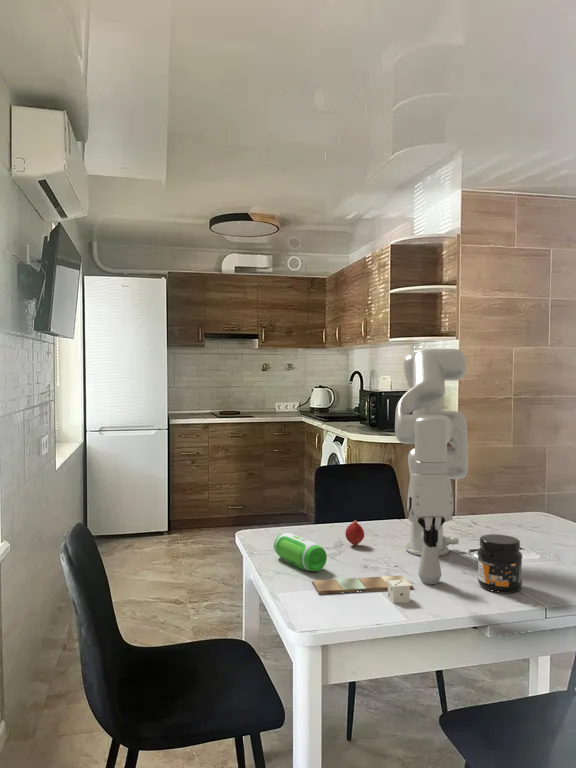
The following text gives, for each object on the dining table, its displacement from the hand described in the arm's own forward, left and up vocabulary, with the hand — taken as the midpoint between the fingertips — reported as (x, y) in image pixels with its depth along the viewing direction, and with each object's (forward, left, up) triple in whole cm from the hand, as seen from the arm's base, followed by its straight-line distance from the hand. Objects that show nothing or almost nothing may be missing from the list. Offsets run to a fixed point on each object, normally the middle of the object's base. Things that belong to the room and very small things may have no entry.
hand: (430, 545), depth 140 cm
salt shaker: (-4, -10, -13) cm, 17 cm away
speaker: (+26, -30, -13) cm, 42 cm away
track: (+14, -10, -13) cm, 21 cm away
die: (+8, 0, -13) cm, 15 cm away
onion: (+6, -45, -13) cm, 48 cm away
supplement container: (-20, -4, -13) cm, 24 cm away
